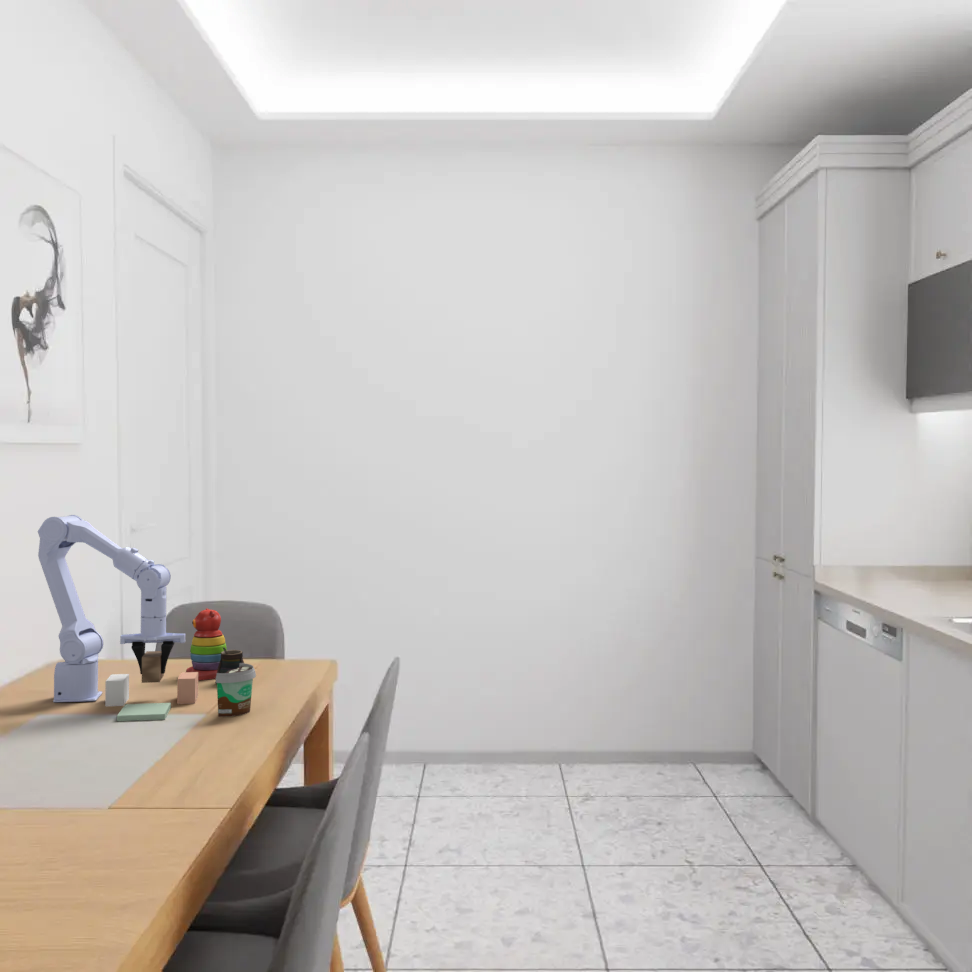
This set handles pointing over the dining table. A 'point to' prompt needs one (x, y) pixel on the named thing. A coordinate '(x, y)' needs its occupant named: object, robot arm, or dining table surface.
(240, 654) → the mate gourd
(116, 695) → the pale grey brick
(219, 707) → the food container
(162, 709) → the sage green board
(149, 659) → the walnut brick
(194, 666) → the stacking bear
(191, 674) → the terracotta brick
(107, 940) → the dining table surface
